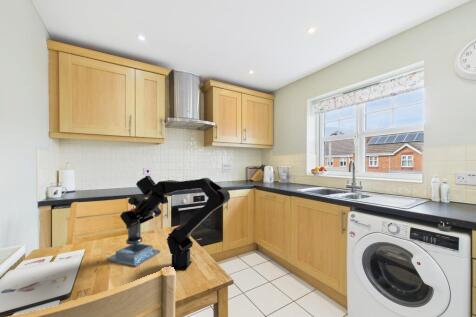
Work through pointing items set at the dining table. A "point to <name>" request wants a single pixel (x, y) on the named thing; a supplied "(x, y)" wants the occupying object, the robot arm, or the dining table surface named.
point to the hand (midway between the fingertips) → (132, 226)
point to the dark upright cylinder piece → (134, 232)
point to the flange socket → (134, 254)
